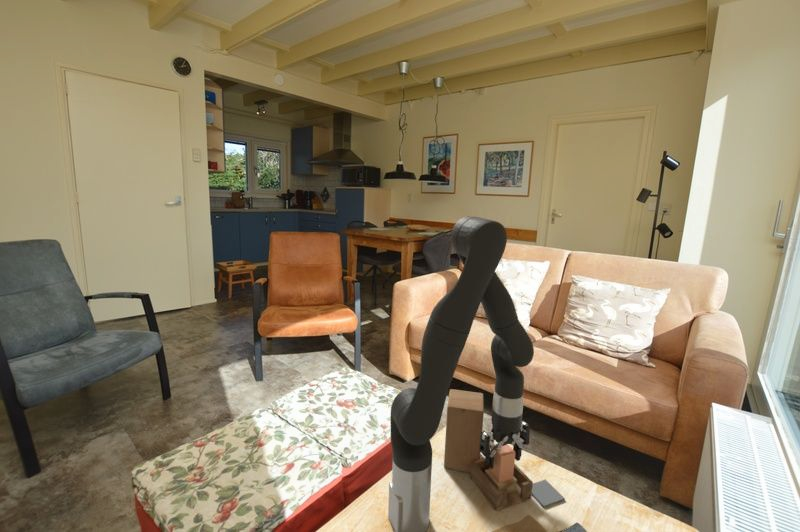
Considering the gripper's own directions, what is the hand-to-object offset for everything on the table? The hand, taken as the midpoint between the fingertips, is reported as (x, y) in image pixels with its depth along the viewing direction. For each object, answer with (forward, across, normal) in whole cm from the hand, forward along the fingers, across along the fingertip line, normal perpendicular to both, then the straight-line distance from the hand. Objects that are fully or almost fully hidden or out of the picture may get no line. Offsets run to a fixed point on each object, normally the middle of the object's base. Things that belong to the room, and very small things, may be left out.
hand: (503, 462), depth 101 cm
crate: (+8, 0, 0) cm, 8 cm away
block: (+4, 0, 0) cm, 4 cm away
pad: (+8, +10, -6) cm, 14 cm away
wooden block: (+8, -4, +13) cm, 16 cm away
